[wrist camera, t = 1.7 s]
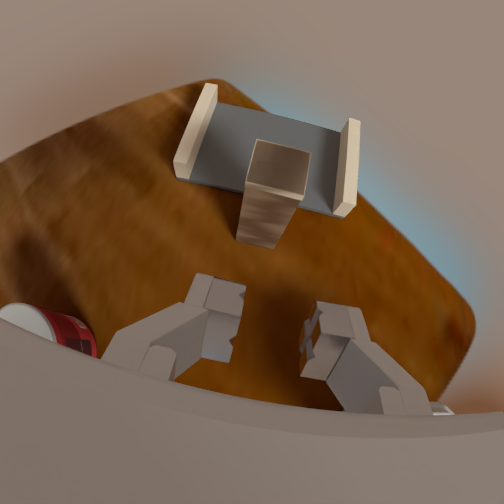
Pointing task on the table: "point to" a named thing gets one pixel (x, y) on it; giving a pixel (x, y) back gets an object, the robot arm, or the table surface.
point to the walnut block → (271, 192)
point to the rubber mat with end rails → (276, 131)
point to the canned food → (51, 326)
